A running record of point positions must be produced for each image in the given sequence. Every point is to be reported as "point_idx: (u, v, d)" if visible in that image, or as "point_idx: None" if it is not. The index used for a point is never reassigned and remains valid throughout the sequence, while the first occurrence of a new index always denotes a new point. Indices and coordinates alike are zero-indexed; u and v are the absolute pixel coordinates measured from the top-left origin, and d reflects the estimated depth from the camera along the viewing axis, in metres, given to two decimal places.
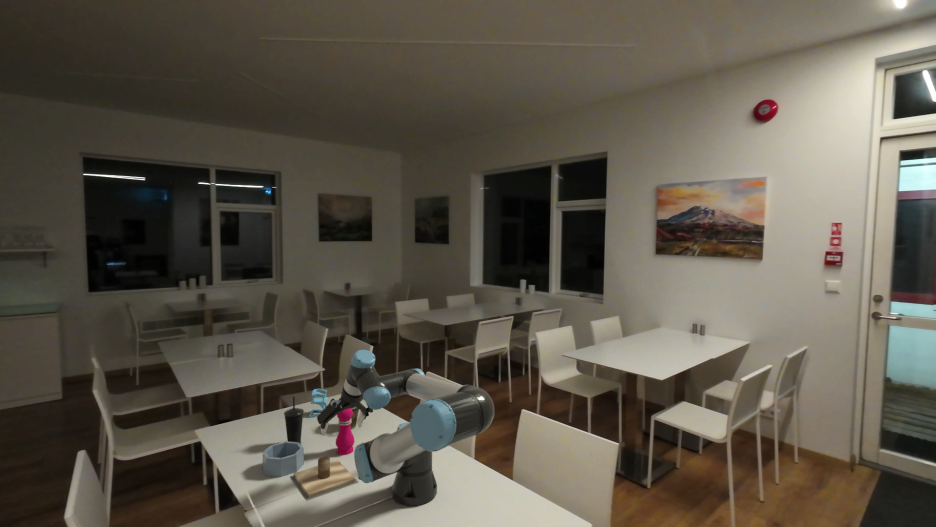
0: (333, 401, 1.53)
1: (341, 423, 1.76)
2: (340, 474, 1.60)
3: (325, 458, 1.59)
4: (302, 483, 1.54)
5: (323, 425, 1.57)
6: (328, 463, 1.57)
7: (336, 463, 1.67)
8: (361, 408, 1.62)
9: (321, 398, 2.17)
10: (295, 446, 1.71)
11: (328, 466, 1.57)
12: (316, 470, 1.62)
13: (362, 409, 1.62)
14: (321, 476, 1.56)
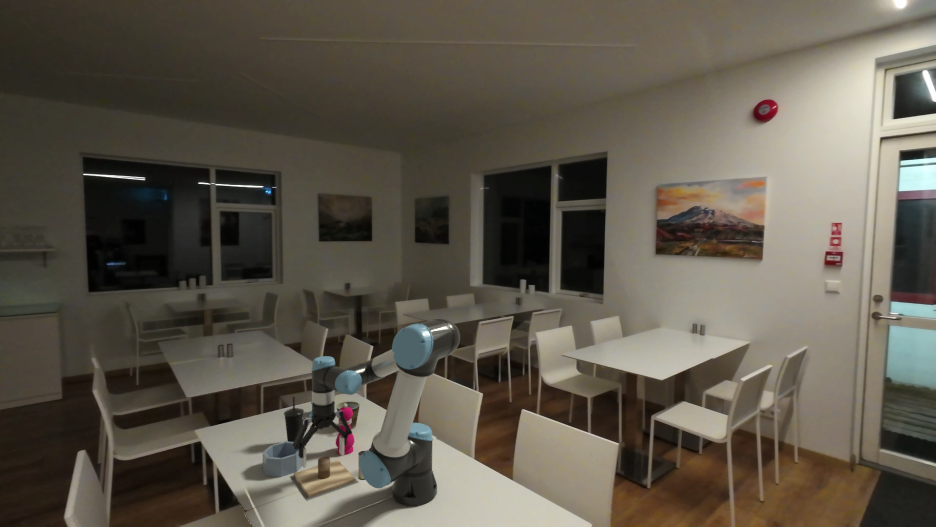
0: (304, 419, 1.53)
1: (341, 423, 1.76)
2: (340, 474, 1.60)
3: (325, 458, 1.59)
4: (302, 483, 1.54)
5: (301, 452, 1.52)
6: (328, 463, 1.57)
7: (336, 463, 1.67)
8: (337, 427, 1.59)
9: None
10: None
11: (328, 466, 1.57)
12: (316, 470, 1.62)
13: (339, 429, 1.60)
14: (321, 476, 1.56)
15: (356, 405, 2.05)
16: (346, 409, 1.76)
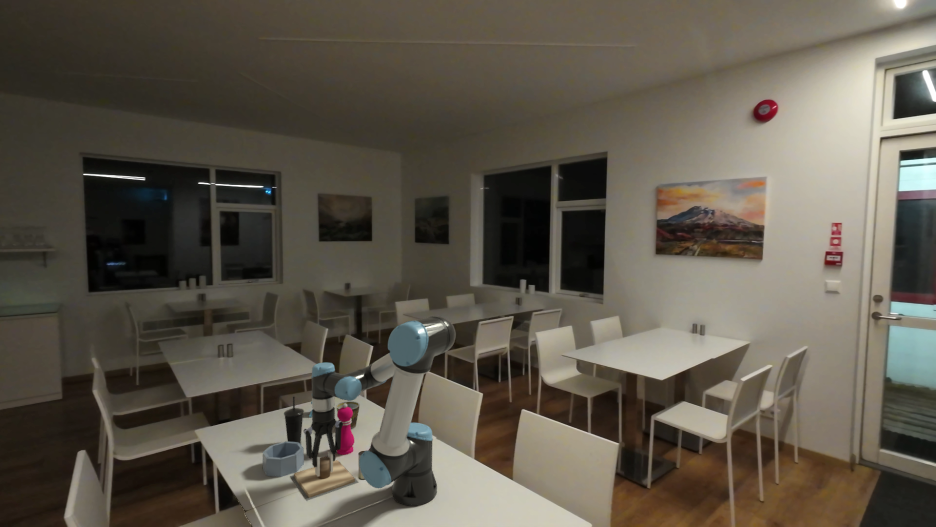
0: (305, 431, 1.53)
1: None
2: (340, 474, 1.60)
3: (325, 458, 1.59)
4: (302, 483, 1.54)
5: (315, 461, 1.55)
6: (328, 463, 1.57)
7: (336, 463, 1.67)
8: (331, 439, 1.58)
9: None
10: (295, 446, 1.71)
11: (328, 466, 1.57)
12: None
13: (332, 441, 1.58)
14: (321, 476, 1.56)
15: (356, 405, 2.05)
16: (346, 409, 1.76)
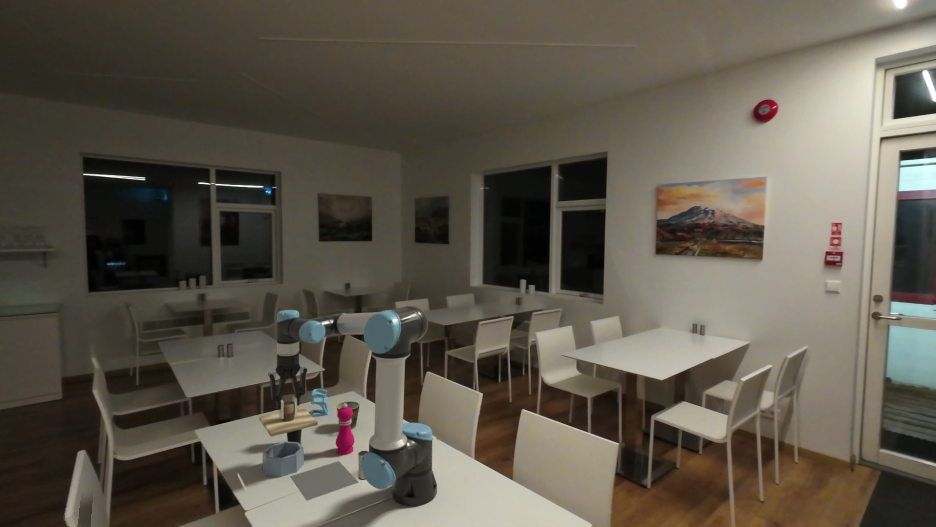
0: (269, 374, 1.59)
1: (341, 423, 1.76)
2: (303, 418, 1.65)
3: (289, 402, 1.64)
4: (266, 424, 1.59)
5: (279, 404, 1.61)
6: (292, 406, 1.63)
7: (302, 409, 1.73)
8: (295, 383, 1.64)
9: (321, 398, 2.17)
10: (295, 446, 1.71)
11: (292, 409, 1.63)
12: None
13: (296, 386, 1.64)
14: (285, 419, 1.62)
15: (356, 405, 2.05)
16: (346, 409, 1.76)
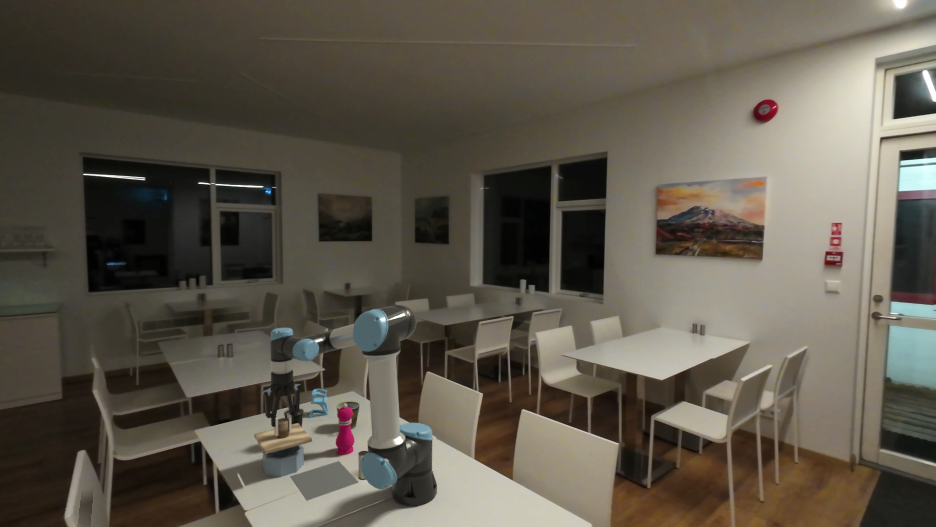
0: (263, 392, 1.60)
1: (341, 423, 1.76)
2: (298, 434, 1.67)
3: (284, 419, 1.66)
4: (261, 442, 1.61)
5: (273, 421, 1.62)
6: (286, 423, 1.65)
7: (296, 426, 1.74)
8: (290, 400, 1.65)
9: (321, 398, 2.17)
10: (295, 446, 1.71)
11: (286, 426, 1.65)
12: None
13: (290, 403, 1.65)
14: (279, 436, 1.64)
15: (356, 405, 2.05)
16: (346, 409, 1.76)
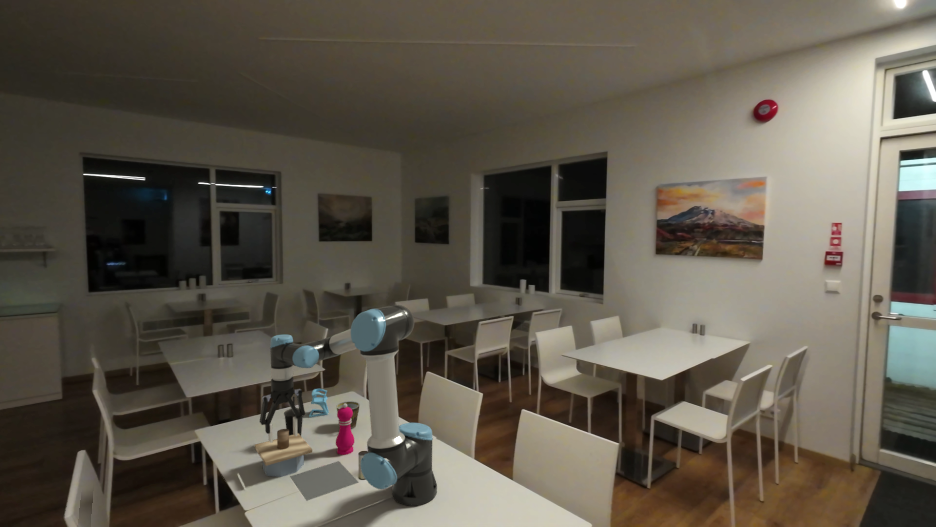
0: (263, 397, 1.60)
1: (341, 423, 1.76)
2: (298, 445, 1.67)
3: (284, 430, 1.66)
4: (261, 453, 1.61)
5: (267, 428, 1.61)
6: (287, 434, 1.65)
7: (297, 436, 1.74)
8: (293, 406, 1.66)
9: (321, 398, 2.17)
10: None
11: (287, 437, 1.65)
12: (276, 442, 1.69)
13: (294, 408, 1.66)
14: (280, 447, 1.64)
15: (356, 405, 2.05)
16: (346, 409, 1.76)
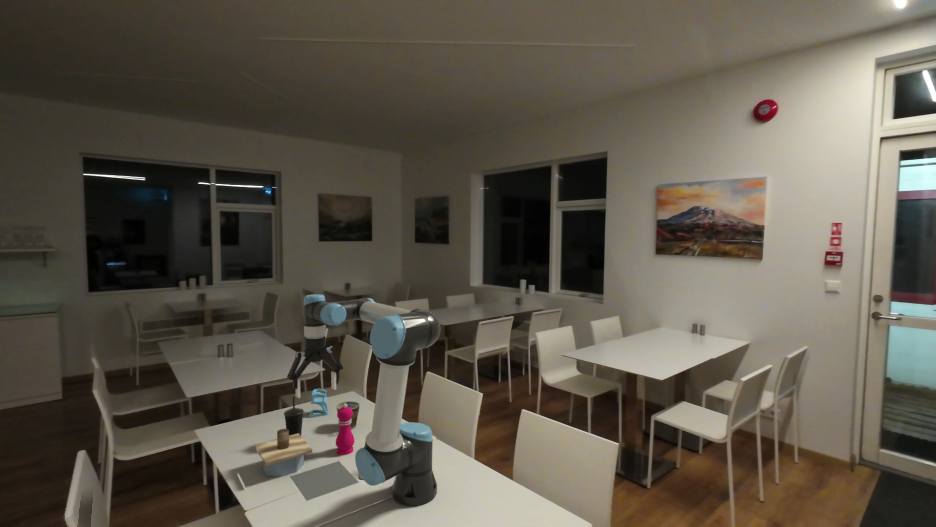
0: (298, 352, 1.62)
1: (341, 423, 1.76)
2: (298, 445, 1.67)
3: (284, 430, 1.66)
4: (261, 453, 1.61)
5: (295, 383, 1.61)
6: (287, 434, 1.65)
7: (297, 436, 1.74)
8: (329, 362, 1.69)
9: (321, 398, 2.17)
10: None
11: (287, 437, 1.65)
12: (276, 442, 1.69)
13: (330, 363, 1.69)
14: (280, 447, 1.64)
15: (356, 405, 2.05)
16: (346, 409, 1.76)
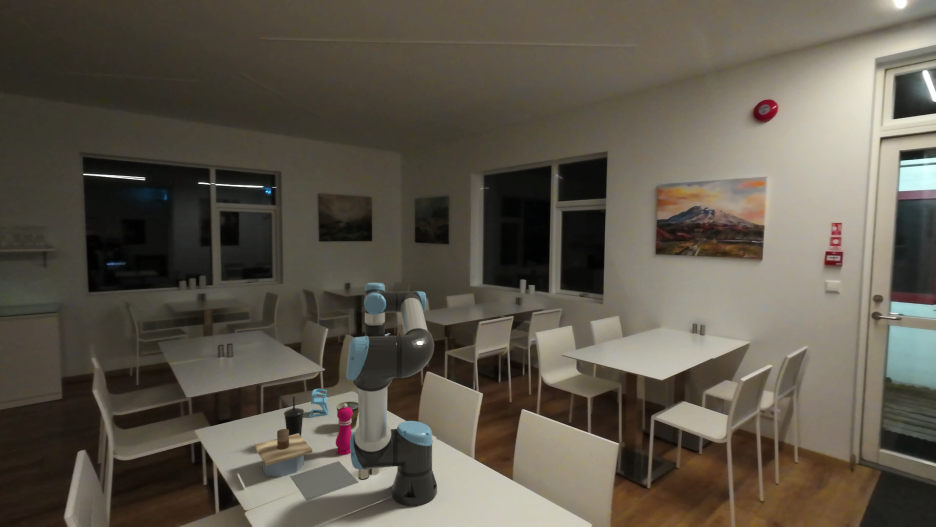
0: None
1: (341, 423, 1.76)
2: (298, 445, 1.67)
3: (284, 430, 1.66)
4: (261, 453, 1.61)
5: None
6: (287, 434, 1.65)
7: (297, 436, 1.74)
8: None
9: (321, 398, 2.17)
10: None
11: (287, 437, 1.65)
12: (276, 442, 1.69)
13: None
14: (280, 447, 1.64)
15: (356, 405, 2.05)
16: (346, 409, 1.76)
